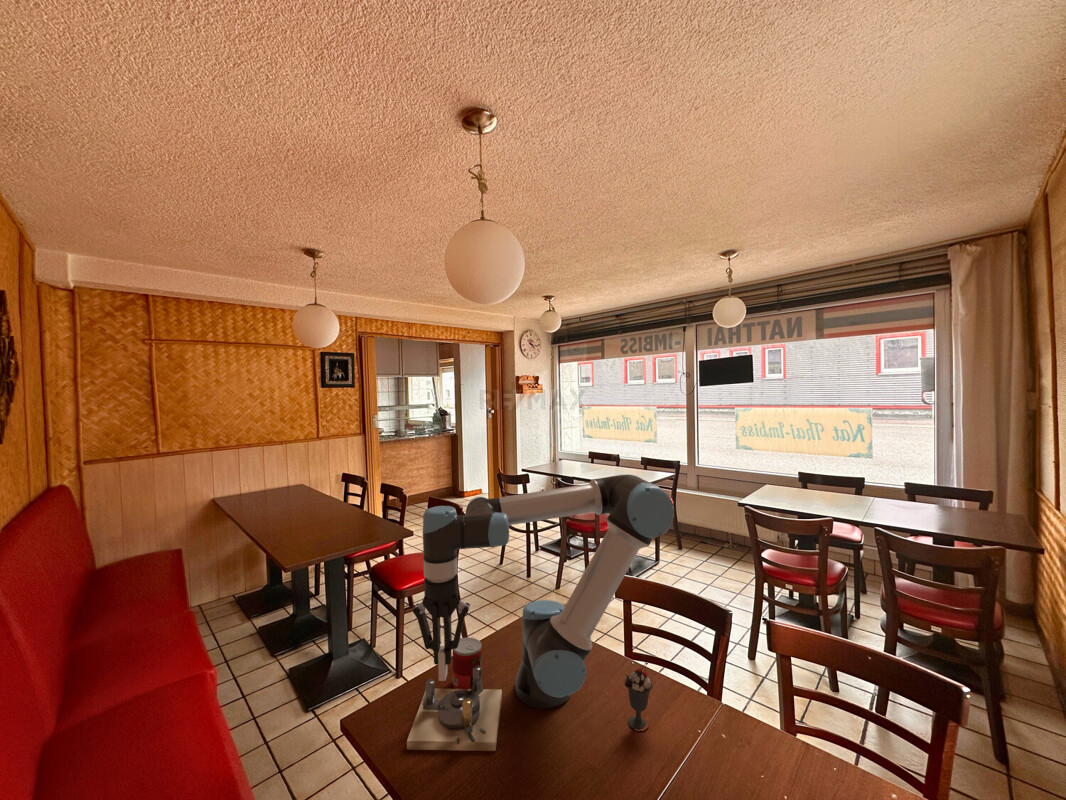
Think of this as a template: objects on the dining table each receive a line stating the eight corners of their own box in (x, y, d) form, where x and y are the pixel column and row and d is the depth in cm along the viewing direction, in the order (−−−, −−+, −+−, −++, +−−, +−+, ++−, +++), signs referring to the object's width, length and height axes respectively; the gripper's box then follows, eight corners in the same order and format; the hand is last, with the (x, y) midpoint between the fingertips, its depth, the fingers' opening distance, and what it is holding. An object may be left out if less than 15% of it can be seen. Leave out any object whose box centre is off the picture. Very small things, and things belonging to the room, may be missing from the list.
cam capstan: (421, 708, 109) (421, 680, 109) (481, 690, 116) (481, 663, 116) (435, 748, 97) (435, 716, 97) (500, 725, 104) (501, 695, 104)
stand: (501, 697, 117) (501, 683, 117) (495, 753, 98) (495, 738, 98) (426, 695, 117) (426, 682, 117) (405, 752, 99) (405, 736, 99)
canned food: (476, 696, 117) (476, 655, 117) (447, 691, 119) (448, 651, 118) (485, 677, 125) (485, 639, 124) (458, 673, 126) (458, 635, 126)
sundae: (657, 723, 108) (658, 663, 107) (643, 739, 103) (644, 676, 103) (633, 710, 112) (634, 652, 112) (619, 724, 107) (620, 663, 107)
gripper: (471, 568, 105) (473, 666, 105) (416, 569, 105) (419, 666, 105) (466, 582, 97) (469, 687, 98) (407, 583, 97) (410, 688, 98)
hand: (443, 676), depth 102 cm, fingers closed
